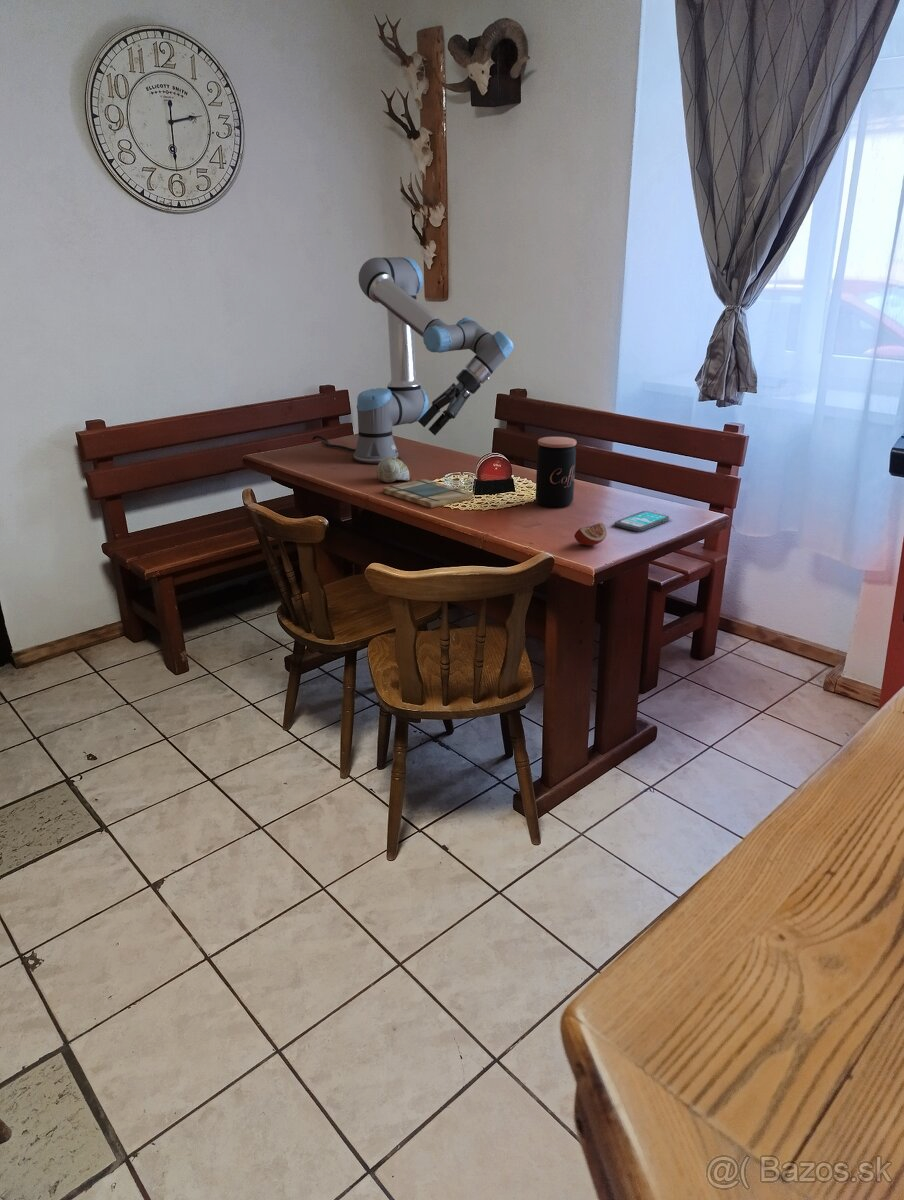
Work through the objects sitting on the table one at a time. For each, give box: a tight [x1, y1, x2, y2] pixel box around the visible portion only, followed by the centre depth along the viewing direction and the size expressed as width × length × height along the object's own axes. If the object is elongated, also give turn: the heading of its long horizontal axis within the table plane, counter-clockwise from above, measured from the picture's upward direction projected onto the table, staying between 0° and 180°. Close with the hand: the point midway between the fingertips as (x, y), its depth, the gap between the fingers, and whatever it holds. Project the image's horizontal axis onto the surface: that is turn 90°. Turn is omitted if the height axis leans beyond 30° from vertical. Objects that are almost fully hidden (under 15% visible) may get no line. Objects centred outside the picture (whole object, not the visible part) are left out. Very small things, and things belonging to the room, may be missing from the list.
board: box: [382, 478, 474, 509], centre depth 239 cm, size 22×16×2 cm
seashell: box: [376, 458, 411, 484], centre depth 254 cm, size 10×10×10 cm
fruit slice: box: [573, 522, 608, 546], centre depth 197 cm, size 8×7×5 cm
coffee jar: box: [535, 436, 578, 509], centre depth 228 cm, size 11×11×18 cm
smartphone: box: [614, 510, 670, 532], centre depth 214 cm, size 9×1×15 cm
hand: (426, 428), depth 251 cm, fingers open, 13 cm apart
